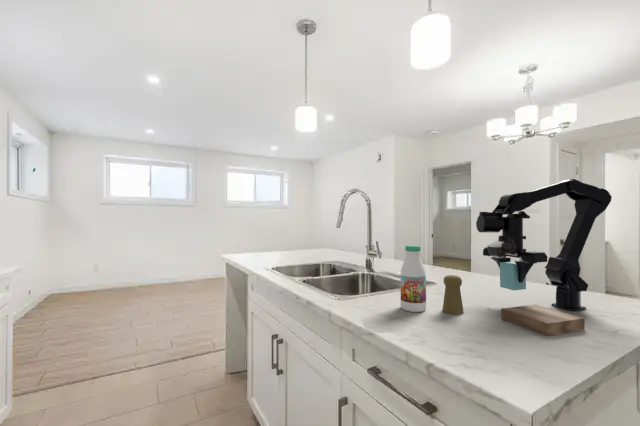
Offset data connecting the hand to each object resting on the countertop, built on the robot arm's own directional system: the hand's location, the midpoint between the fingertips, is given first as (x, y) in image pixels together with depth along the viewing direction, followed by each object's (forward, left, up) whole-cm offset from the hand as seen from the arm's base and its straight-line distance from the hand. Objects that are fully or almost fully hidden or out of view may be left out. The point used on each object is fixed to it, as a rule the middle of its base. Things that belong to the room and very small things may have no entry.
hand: (512, 281), depth 99 cm
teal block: (0, 0, -2) cm, 2 cm away
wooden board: (+7, +15, -8) cm, 18 cm away
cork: (+22, -2, -8) cm, 24 cm away
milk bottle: (+32, -8, -8) cm, 34 cm away
